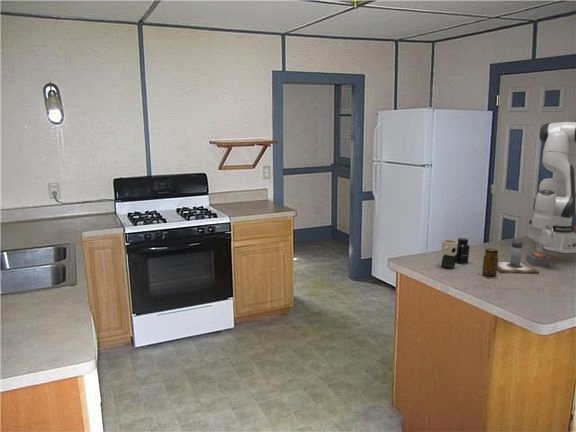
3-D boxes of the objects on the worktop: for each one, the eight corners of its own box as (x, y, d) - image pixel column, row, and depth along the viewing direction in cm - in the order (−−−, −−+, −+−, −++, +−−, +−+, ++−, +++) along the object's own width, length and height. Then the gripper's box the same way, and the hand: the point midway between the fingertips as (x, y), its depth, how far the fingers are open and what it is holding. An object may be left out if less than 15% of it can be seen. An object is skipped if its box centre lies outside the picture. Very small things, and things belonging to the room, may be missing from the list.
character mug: (450, 271, 224) (452, 244, 222) (436, 268, 229) (438, 241, 226) (459, 266, 232) (461, 240, 230) (445, 263, 237) (447, 237, 234)
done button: (541, 257, 239) (541, 252, 239) (545, 259, 235) (546, 254, 234) (532, 256, 239) (532, 251, 239) (536, 259, 235) (537, 254, 234)
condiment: (491, 272, 224) (493, 247, 222) (503, 278, 216) (506, 252, 214) (477, 273, 222) (479, 248, 220) (489, 279, 214) (491, 253, 212)
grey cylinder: (517, 264, 232) (520, 240, 230) (521, 267, 228) (524, 242, 225) (508, 264, 232) (510, 240, 230) (512, 266, 228) (514, 242, 226)
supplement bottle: (463, 265, 234) (465, 241, 232) (450, 261, 239) (452, 238, 237) (470, 262, 239) (473, 239, 236) (458, 259, 244) (460, 236, 241)
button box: (542, 261, 241) (543, 254, 241) (550, 266, 234) (551, 258, 233) (526, 261, 242) (527, 253, 241) (533, 266, 234) (534, 258, 233)
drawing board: (523, 263, 238) (524, 261, 238) (539, 273, 222) (539, 271, 222) (487, 262, 239) (487, 260, 238) (499, 272, 223) (500, 270, 223)
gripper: (560, 228, 223) (556, 257, 226) (539, 219, 243) (536, 246, 246) (546, 228, 224) (543, 256, 226) (527, 219, 244) (523, 245, 246)
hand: (539, 251), depth 236 cm, fingers closed
